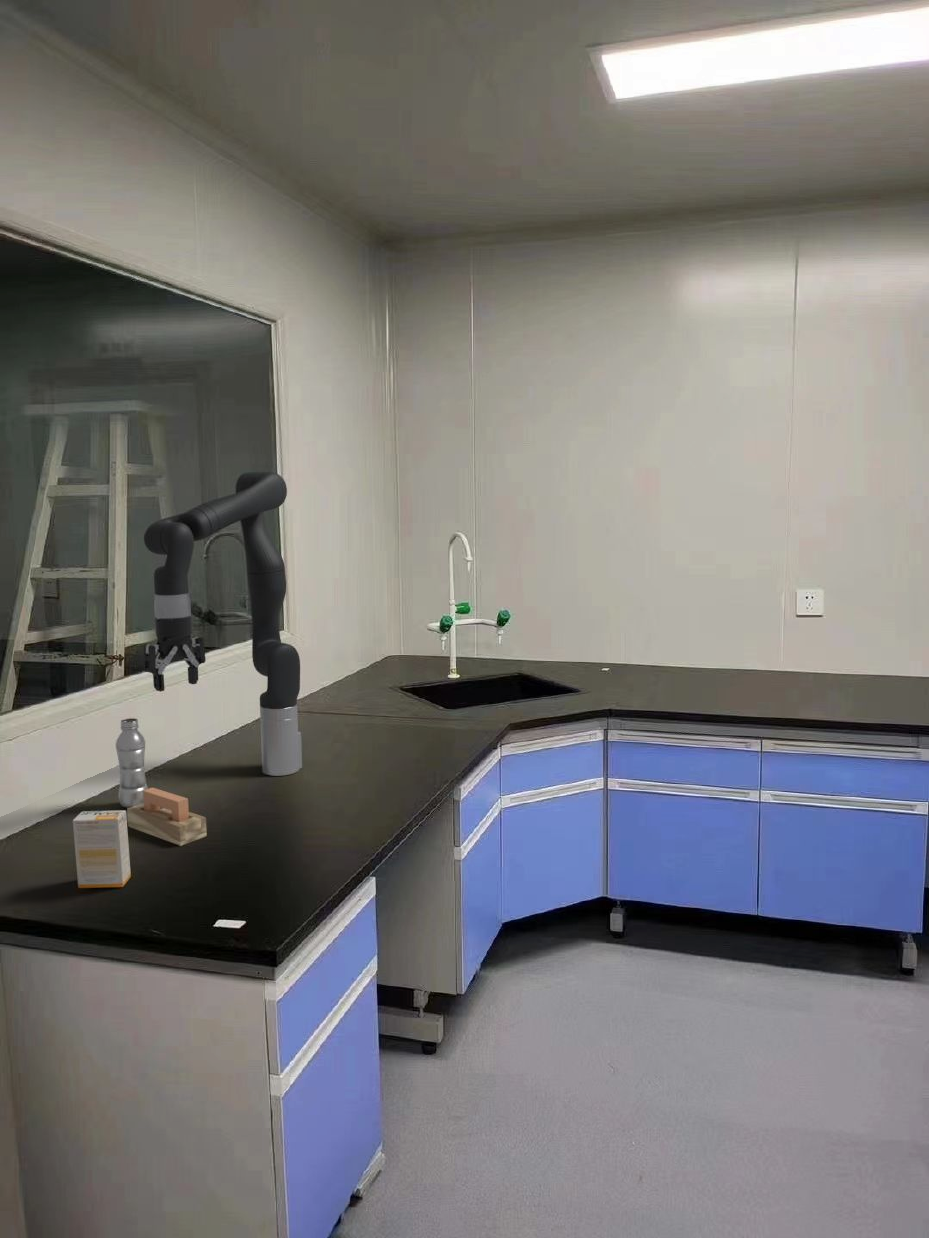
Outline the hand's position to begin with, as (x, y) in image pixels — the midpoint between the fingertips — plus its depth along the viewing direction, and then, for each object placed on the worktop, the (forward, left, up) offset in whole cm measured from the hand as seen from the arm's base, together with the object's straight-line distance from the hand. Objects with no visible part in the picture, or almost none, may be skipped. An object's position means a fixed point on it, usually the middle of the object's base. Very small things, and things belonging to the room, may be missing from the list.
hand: (176, 687), depth 198 cm
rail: (+10, +8, -28) cm, 31 cm away
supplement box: (+32, +20, -28) cm, 47 cm away
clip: (+10, +8, -27) cm, 30 cm away
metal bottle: (+5, -11, -28) cm, 31 cm away
